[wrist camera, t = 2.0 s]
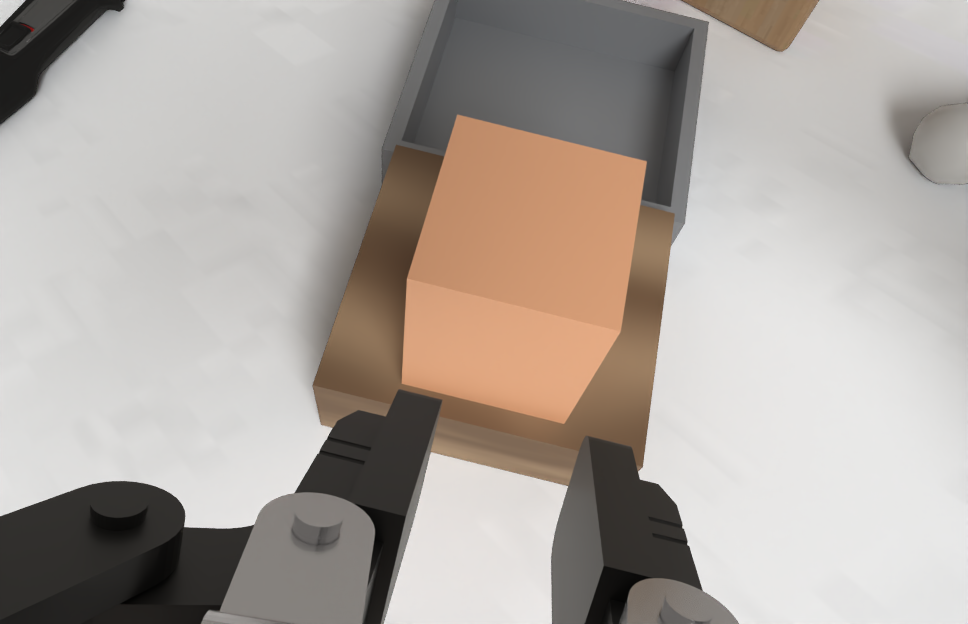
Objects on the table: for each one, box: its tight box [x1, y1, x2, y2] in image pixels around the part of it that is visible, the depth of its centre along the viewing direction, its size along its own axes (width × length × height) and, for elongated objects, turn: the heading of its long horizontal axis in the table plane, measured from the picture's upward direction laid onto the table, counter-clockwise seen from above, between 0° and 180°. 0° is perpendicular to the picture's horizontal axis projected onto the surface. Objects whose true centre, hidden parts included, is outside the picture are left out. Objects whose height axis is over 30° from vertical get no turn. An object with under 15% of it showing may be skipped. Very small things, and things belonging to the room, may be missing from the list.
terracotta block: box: [402, 115, 647, 424], centre depth 31 cm, size 7×7×9 cm
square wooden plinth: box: [313, 145, 675, 486], centre depth 38 cm, size 13×14×5 cm
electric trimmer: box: [0, 0, 124, 124], centre depth 43 cm, size 4×16×3 cm, turn 156°
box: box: [382, 0, 709, 245], centre depth 45 cm, size 15×16×4 cm
